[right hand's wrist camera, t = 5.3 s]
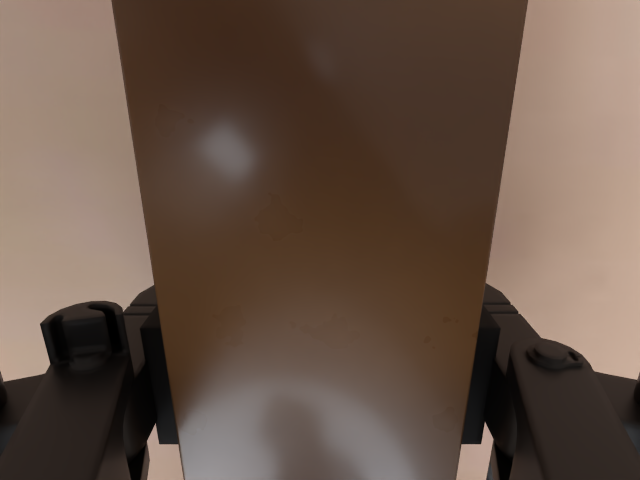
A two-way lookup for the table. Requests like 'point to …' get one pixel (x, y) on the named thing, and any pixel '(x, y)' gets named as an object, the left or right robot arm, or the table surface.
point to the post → (319, 223)
